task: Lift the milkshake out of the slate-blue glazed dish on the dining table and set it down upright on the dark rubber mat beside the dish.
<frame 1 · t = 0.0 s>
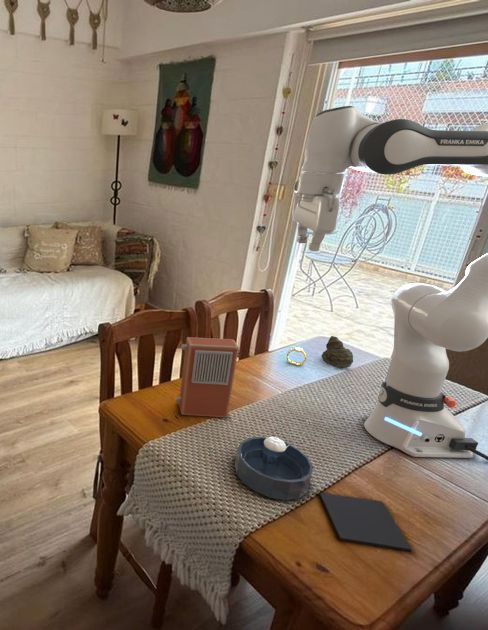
hand: (307, 246, 104), 48 cm above the table, tool pointing down, fingers open, 8 cm apart
pink box with grille: (202, 411, 124), on the table
milkshake: (270, 475, 99), resting in dish
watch: (294, 364, 152), on the table
mat: (361, 521, 87), on the table
dish: (270, 475, 99), on the table
brown poop pile: (336, 366, 152), on the table
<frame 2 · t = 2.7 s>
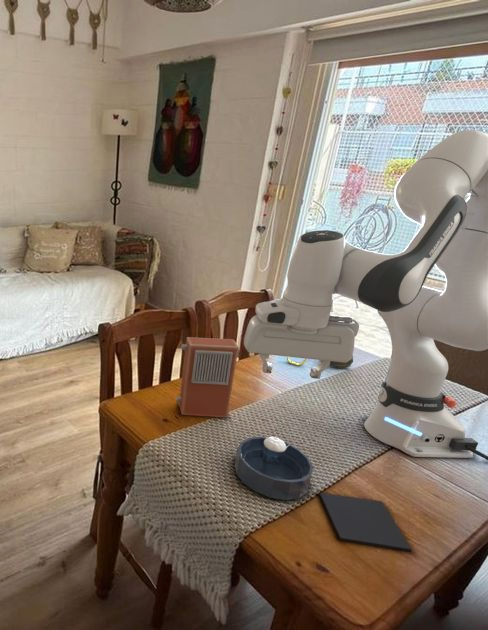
hand: (290, 374, 92), 25 cm above the table, tool pointing down, fingers open, 8 cm apart
nothing on the table moved.
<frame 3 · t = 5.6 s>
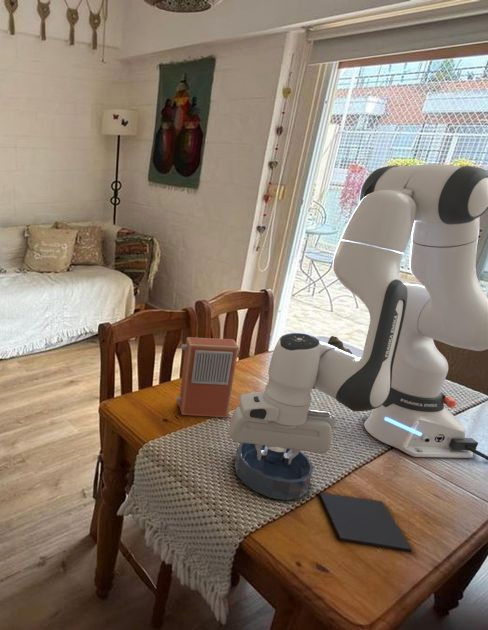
hand: (272, 460, 98), 4 cm above the table, tool pointing down, fingers closed on milkshake, 4 cm apart
milkshake: (271, 475, 99), resting in dish, touching gripper
everything else where it was.
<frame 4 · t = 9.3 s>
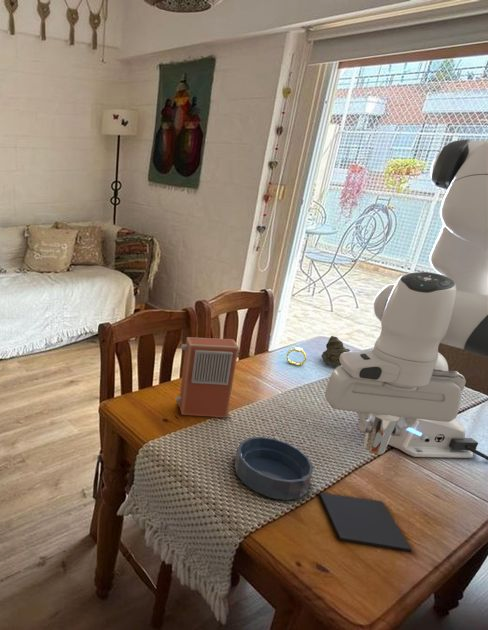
hand: (379, 432, 81), 20 cm above the table, tool pointing down, fingers closed on milkshake, 4 cm apart
milkshake: (376, 450, 83), point 16 cm above the table, touching gripper
everything else where it was.
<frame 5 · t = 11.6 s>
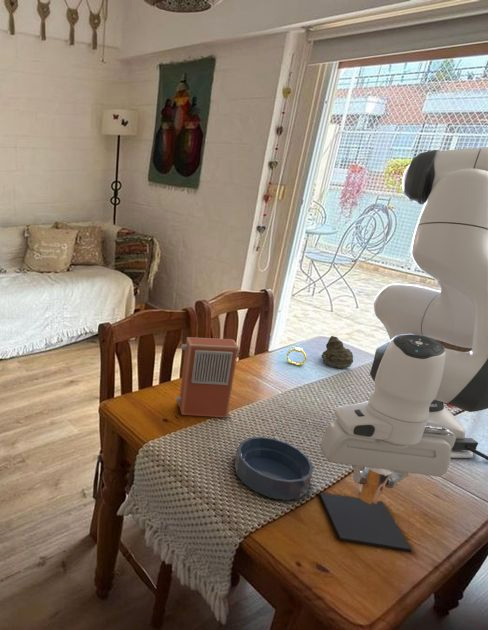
hand: (373, 483, 84), 9 cm above the table, tool pointing down, fingers closed on milkshake, 4 cm apart
milkshake: (370, 500, 85), point 5 cm above the table, touching gripper
everything else where it was.
when the fingers open (4 cm above the table, at t = 13.2 s): milkshake stays where it is, resting on mat.
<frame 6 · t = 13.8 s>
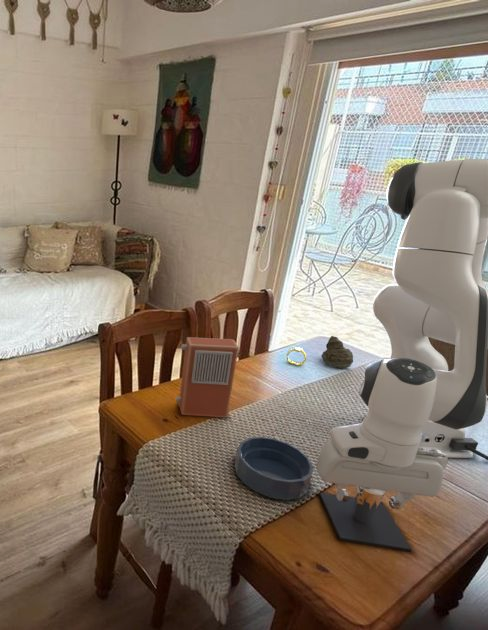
hand: (367, 503, 86), 5 cm above the table, tool pointing down, fingers open, 8 cm apart
milkshake: (363, 519, 87), resting on mat
everything else where it was.
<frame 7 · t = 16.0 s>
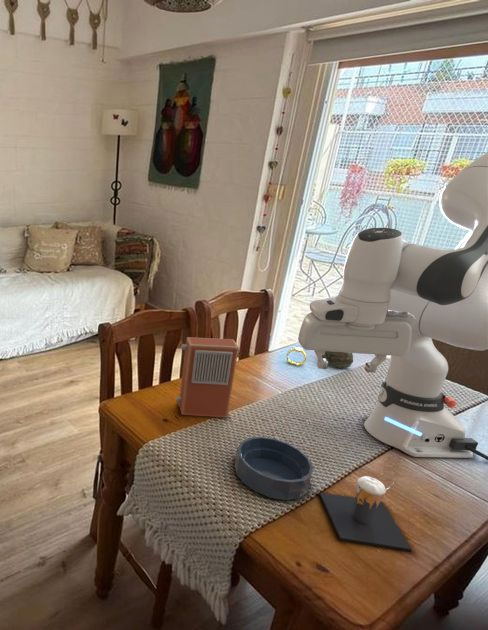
hand: (345, 369, 94), 25 cm above the table, tool pointing down, fingers open, 8 cm apart
nothing on the table moved.
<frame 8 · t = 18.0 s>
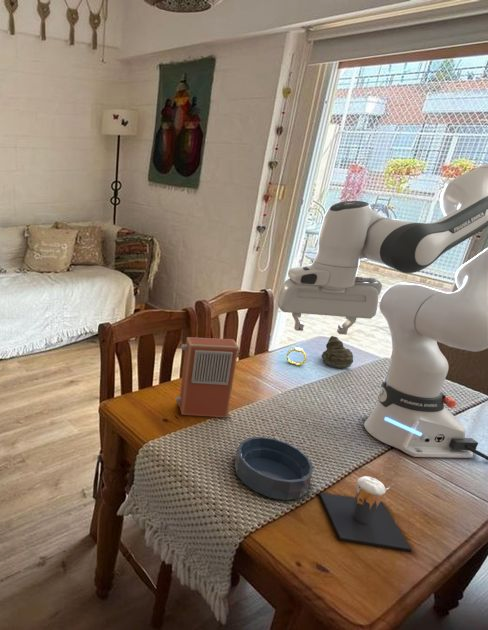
hand: (319, 331, 104), 29 cm above the table, tool pointing down, fingers open, 8 cm apart
nothing on the table moved.
at the end: milkshake inside the target area on the mat (0.3 cm from its centre), point 0.4 cm above the mat's base; milkshake tilted 0°; milkshake touching mat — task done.
